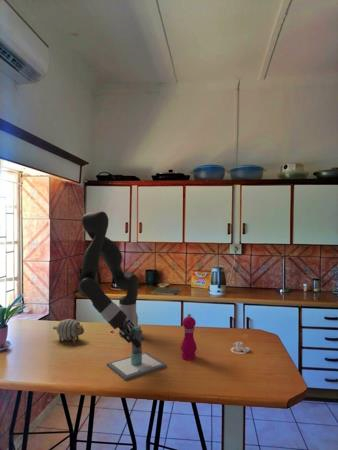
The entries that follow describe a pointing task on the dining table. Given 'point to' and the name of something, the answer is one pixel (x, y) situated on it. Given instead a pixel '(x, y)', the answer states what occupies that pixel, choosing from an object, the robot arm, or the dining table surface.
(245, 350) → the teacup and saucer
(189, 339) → the pepper mill
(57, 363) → the dining table surface
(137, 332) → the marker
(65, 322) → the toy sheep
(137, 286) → the robot arm
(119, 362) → the grey flat block
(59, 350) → the dining table surface
